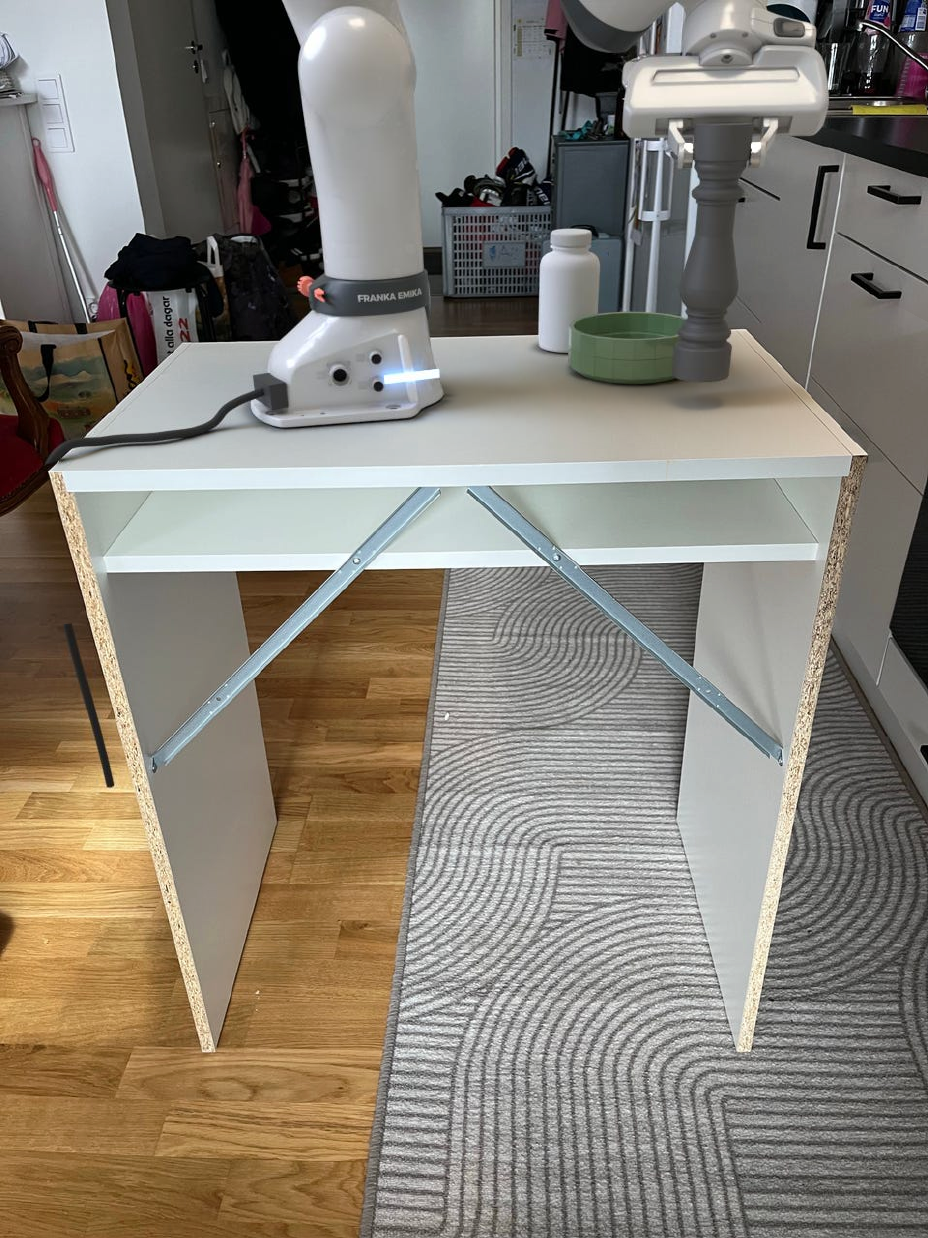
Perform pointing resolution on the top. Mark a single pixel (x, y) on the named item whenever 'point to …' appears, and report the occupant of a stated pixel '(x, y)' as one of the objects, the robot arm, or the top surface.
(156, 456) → the top surface
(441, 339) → the top surface
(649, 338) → the bowl
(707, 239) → the candle holder
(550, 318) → the pill bottle
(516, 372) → the top surface
